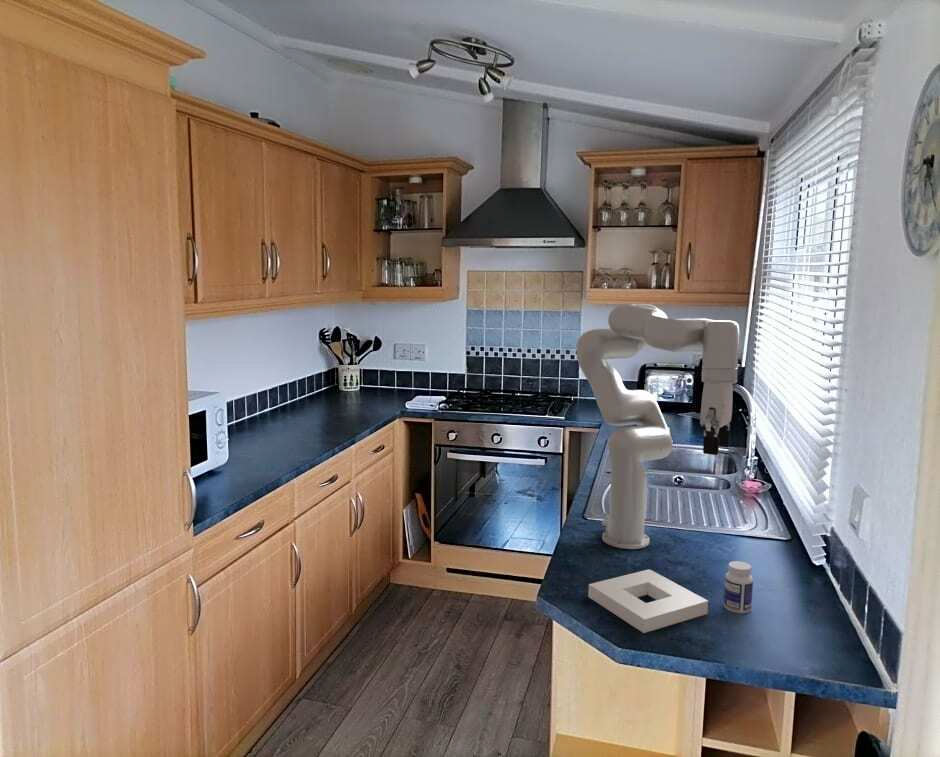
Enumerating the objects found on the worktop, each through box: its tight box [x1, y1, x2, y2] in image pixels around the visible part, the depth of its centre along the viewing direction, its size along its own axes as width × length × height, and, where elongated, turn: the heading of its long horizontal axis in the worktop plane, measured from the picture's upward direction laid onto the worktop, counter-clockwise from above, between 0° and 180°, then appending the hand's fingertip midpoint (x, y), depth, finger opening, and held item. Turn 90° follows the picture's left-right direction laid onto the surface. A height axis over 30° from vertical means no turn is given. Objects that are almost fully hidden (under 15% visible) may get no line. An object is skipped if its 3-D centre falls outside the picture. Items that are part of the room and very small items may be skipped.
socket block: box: [587, 569, 709, 634], centre depth 155 cm, size 18×18×3 cm
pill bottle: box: [723, 560, 754, 614], centre depth 154 cm, size 6×6×10 cm
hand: (716, 450), depth 161 cm, fingers open, 9 cm apart
